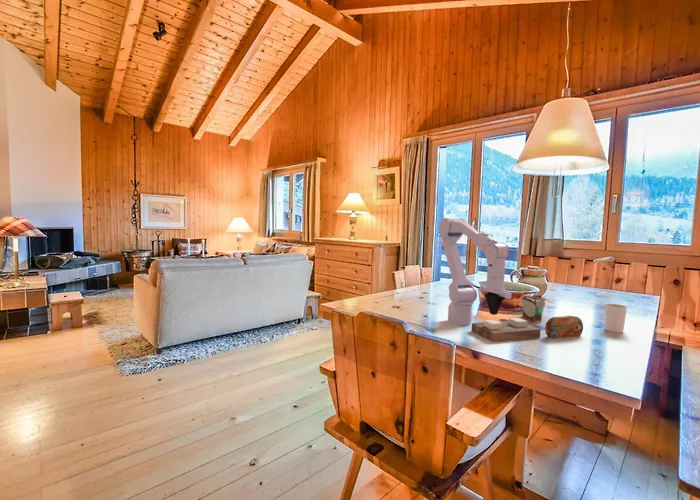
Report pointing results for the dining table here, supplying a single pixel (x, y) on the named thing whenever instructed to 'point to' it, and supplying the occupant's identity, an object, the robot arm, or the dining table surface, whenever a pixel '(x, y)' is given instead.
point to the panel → (506, 332)
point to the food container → (533, 308)
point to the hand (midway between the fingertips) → (493, 314)
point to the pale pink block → (492, 324)
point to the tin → (564, 327)
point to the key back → (517, 322)
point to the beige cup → (615, 317)
